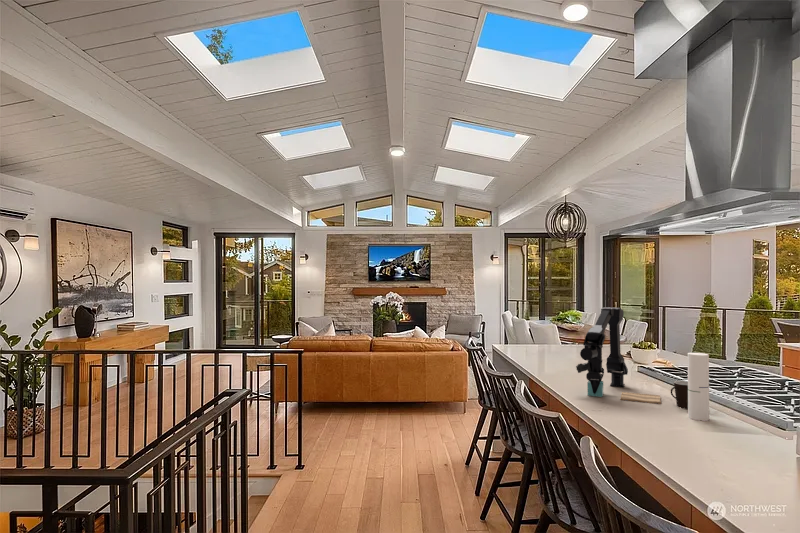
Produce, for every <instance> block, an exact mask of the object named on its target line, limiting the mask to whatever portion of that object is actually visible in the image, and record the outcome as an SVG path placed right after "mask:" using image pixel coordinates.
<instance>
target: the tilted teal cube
mask: <svg viewBox="0 0 800 533" xmlns="http://www.w3.org/2000/svg"><path fill="white" fill-rule="evenodd" d="M587 396H589V397H590V396H591V397H600V398H603V397H604V380H601V382H600V384H599V387H598V389H597V392H596V394H594V393H593V390H592V386H591V382H590V381H589V380H587Z"/></svg>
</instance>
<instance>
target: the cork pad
mask: <svg viewBox="0 0 800 533" xmlns="http://www.w3.org/2000/svg"><path fill="white" fill-rule="evenodd" d="M619 400H620V401H625V400H628V401H627V402H635V401H638V402H637V403H645V402H647V403H648V404H655V403H658V404H657V405H661V404H662V402H661V394H660V395H659V394H649V393H640V392H639V393H637V392H629V391H628V392H626V391H622V392H621V394H620V399H619ZM647 403H646V404H647Z"/></svg>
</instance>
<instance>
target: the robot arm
mask: <svg viewBox="0 0 800 533" xmlns="http://www.w3.org/2000/svg"><path fill="white" fill-rule="evenodd" d="M624 314H625V312H624V310H623V309H622V308H621V307H616V306H615V307H612V306H611V307H609V306H607V307H602V308H601V309H600V314H599V315H598V318H597V320H596V321H595V324H594V325H593V326H592V327H591V328H589V329H588V331H587V332H586V334H585V337H584V340H583V344H582V345H583V346H584V347H583V348H582V349H581V350H580V352H579V355H580V358H581V359H582V360H584V361H586V362H584V363H578V364H576V366H575V369H576V371H577V373H578V374H579V373H583V372H586V371H587V373H586V375H585V376H586V380H587V381H590V382H591V386H592V390H593V393H594V394H596V392H597V389H598V387H599V384H600V382H601V381H603V380H602V379H603V377H604V374H605V368H603V348H604V343H605V340H606V335H605V331H606V329H607V326H608V325H609V327H608V328H609V330H608V331H609V348H610V349H609V355H608V356H607V358H606V364H605V366H606V372H607V374H610V375H611V376H610V377H611V381H610V384H609V385H610V387H620V388H624V387H625V385H626V384H625V383H624V376H625V375H626V376H627V375H628V373H629V371H628V367H627V365H626V362H625V358H624V356H623V355H622V352H621V330H620V329H621V328H620V325H621V323H622V322H623V319H624Z"/></svg>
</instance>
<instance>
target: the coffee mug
mask: <svg viewBox="0 0 800 533" xmlns="http://www.w3.org/2000/svg"><path fill="white" fill-rule="evenodd" d="M673 391H674V393H673ZM670 394H671V396H672V397H673V398H674V399H675V401H676V407H677V406H678V407H677V408H680V407H681V408H680V409H686V408H687V410H688V380H687V381H685V380H676V381H673V387H671V389H670Z"/></svg>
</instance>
